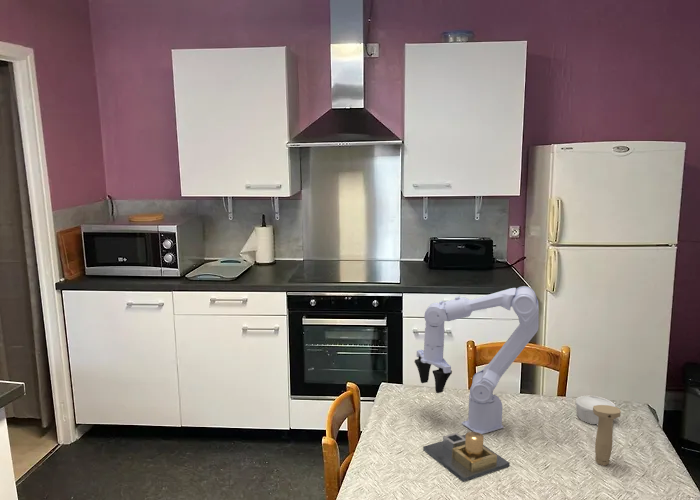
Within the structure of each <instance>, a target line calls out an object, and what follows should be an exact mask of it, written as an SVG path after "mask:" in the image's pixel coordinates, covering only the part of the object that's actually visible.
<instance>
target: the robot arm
mask: <svg viewBox="0 0 700 500" xmlns="http://www.w3.org/2000/svg"><path fill="white" fill-rule="evenodd" d="M497 307H501V308H503V309H506V310H507V311H511V308H512V310H513V311H514V313H515V315H516V316H517V317H518V321H519V324H518V326H517V327H515V328H516V329H515V330H513V332H512V333H511V335H509V337H508V338H507V340H506V341H505V342H504V343H503V345H502V347H500V349H499V350H498V352H497V353H496V354H495V355H494V357H493V358H492V359H491V360H490V361H489V363H488V364H487V365H485V366H484V367H483V368H482V369H481V370H480V371H477V372H476V373H474V375H473V376H472V383H471V386H470V387H469V396H468V415H467V416H468V419H467V420H464V421H461V425H463V426H465V427H466V428H467V429H469V430H471V432H478V433H481V434H482V435H484V434H487V433H491V432H494V431H495V432H496V431H497V430H500V429H503V428H504V425H503V424H502V423H503V407H504V406H503V403H502V399H500V397H499V396H498V395H497V394H494V390H495V389H496V387H497V386H498V383H499V382H500V379H501V378H502V377H503V376H504V374H505V373H506V372H507V370H508V369H509V368H510V367H511V365H512V364H513V363H514V361H515V360H516V359H517V357H518V356H519V355H520V354H521V353H522V352H523V350H524V349H525V348H526V346H527V345H528V344H529V342H530V341H531V340H532V339H533V337H535V335H536V333H537V332H538V331H539V325H540V322H539V321H540V320H539V318H540V317H539V315H540V314H539V313H540V311H539V308H540V307H539V300H538V298H537V294H536V292H535V291H534V289H533V288H531V287H530V286H525V285H523V286H519V287H517V288H516V287H512V288H511V287H510V288H507V289H504V290H500V291H497V292H494V293H490V294H489V293H488V294H486V295H483V296H479V297H476V298H472V299H469V298H467V297H466V296H464V297H461V296H460V295H457V296H455V297H454V299H450V300H447V301H444V300H440V301H439V302H433V303H430V304H429V306H428V307H427V309H425V313H424V314H423V315H424V321H425V327H424V339H423V341H424V344H423V345H424V346H423V349H418V350H416V356H415V357H417V359H414V363H415V366H416V367H417V370H418V371H417V372H418V374H419V380H420V383H421V384H425V383H428V382H429V377H430V371H431V367H432V366H434V367H437V369H434V370H432V374H433V377H434V385H435V386H434V387H435V388H434V389H435V393H436V394H440V393H443V392H444V390H445V387H446V384H447V381H448V380H449V378H450V376H451V375H452V373H453V371H452V366H451V365H450V364H449V363H448V362H447V361H446V359H445V358H444V348H445V347H444V346H445V345H444V344H445V322H452V321H456V320H460V319H464V318H468V317H470V316H471V315H472V313H473V312H476V311H481V310H485V309H493V308H497Z"/></svg>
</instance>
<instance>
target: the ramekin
mask: <svg viewBox="0 0 700 500" xmlns="http://www.w3.org/2000/svg"><path fill="white" fill-rule="evenodd" d="M574 402H575V406H576V415H577V418H579V420H580V421H582V420H583V421H585V422H587V423H586V424H588V423H591V424H598V422H599V417H598V416H596V415H595V414H594V413H593V406H596V405H609V406H613V407H616V404H615V403H614V402H612V401H611V400H609V399H607V398H604V397H602V396H597V395H589V394H588V395H580V396H578V397H576V399H575V401H574ZM583 421H582V422H583ZM585 422H584V423H585ZM591 424H590V425H591Z"/></svg>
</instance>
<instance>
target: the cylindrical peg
mask: <svg viewBox="0 0 700 500" xmlns="http://www.w3.org/2000/svg"><path fill="white" fill-rule="evenodd" d="M483 445H484V434H481V433H478V432H473V431H469V432H467V433H466V439H465V455H466V456H468V457H469V458H470V459H472V460H476V459H479V458H482V457H483Z"/></svg>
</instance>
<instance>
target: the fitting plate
mask: <svg viewBox="0 0 700 500" xmlns="http://www.w3.org/2000/svg"><path fill="white" fill-rule="evenodd" d="M465 439H466V434H462V435H461V434H459V433H458V432H454V433H453V432H452V433H449V434H447V435H444V436H442V440H441V441H437V442H435V443H431V444H428V445H424V446H423V447H422V449H423V451H424V452H425V454H427V455H429V456H430V457H431V458H432V459H434V460H435V461H436V462H438V463H439V464H440V465H441V466H442V467H444V468H445V469H447V470H448V471H449V472H450V473H451V474H453V475H454V476H455V477H456V478H458V479H459V480H460V481H461V482H463V483H465V482H468V481H470V480H473V479H476V478H479V477H482V476H485V475H488V474H491V473H493V472H497V471H500V470H503V469H506V468H508V467H509V468H510V465H511V463H510V461H508V460H506V459H505V458H503V457H502V456H500V455H499V454H497V453H496V452H495V451H493V450H491V449H490V448H488V447H487V446H486V445H484V444H483V457H482V458H479V459H476V460H472V459H470V458H469V457H468V456H466V455H465Z"/></svg>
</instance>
